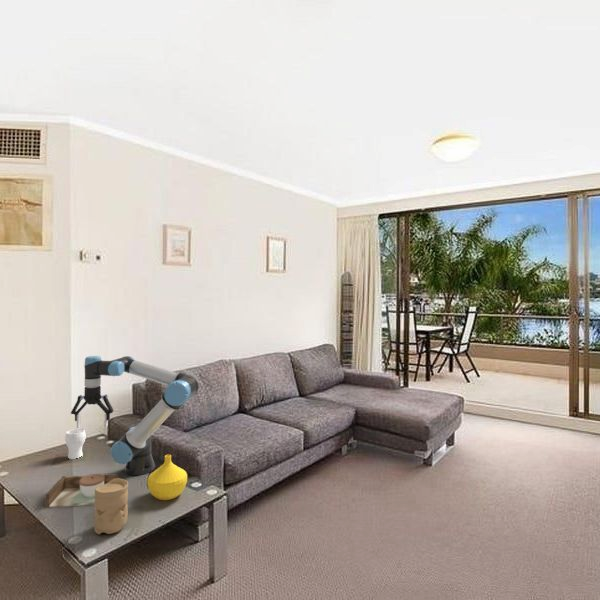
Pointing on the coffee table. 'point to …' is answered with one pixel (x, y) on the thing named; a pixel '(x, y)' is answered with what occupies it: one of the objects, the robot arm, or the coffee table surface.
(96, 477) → the lidded jar
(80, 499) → the pad
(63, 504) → the board
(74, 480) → the walls
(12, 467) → the coffee table surface
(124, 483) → the container
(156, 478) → the vase
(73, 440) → the cup
